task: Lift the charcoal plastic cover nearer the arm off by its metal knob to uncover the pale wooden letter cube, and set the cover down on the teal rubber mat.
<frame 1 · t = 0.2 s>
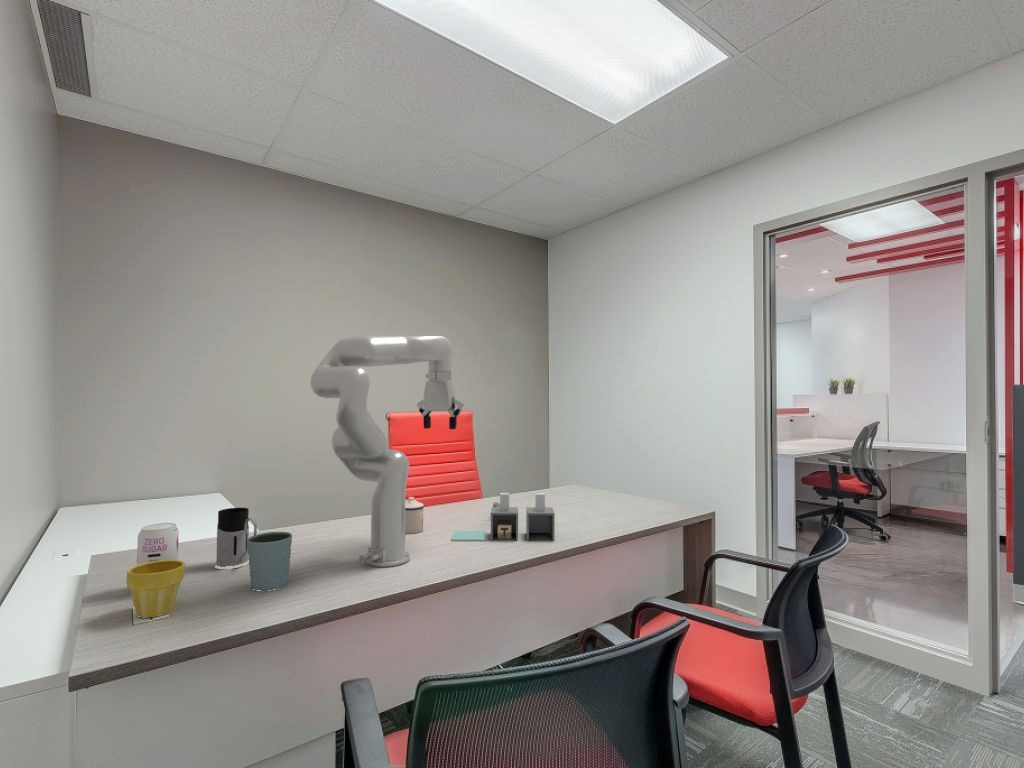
hand: (439, 428, 170), 37 cm above the table, tool pointing down, fingers open, 9 cm apart
plant pot: (155, 612, 112), on the table
mat: (468, 536, 174), on the table
cover b: (539, 536, 174), on the table
teal cup: (268, 586, 128), on the table
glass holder: (238, 566, 142), on the table
teacup with lid: (408, 530, 182), on the table
cover a: (504, 536, 174), on the table
supplement can: (157, 589, 125), on the table
letter cube: (504, 537, 174), on the table
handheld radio: (500, 524, 192), on the table
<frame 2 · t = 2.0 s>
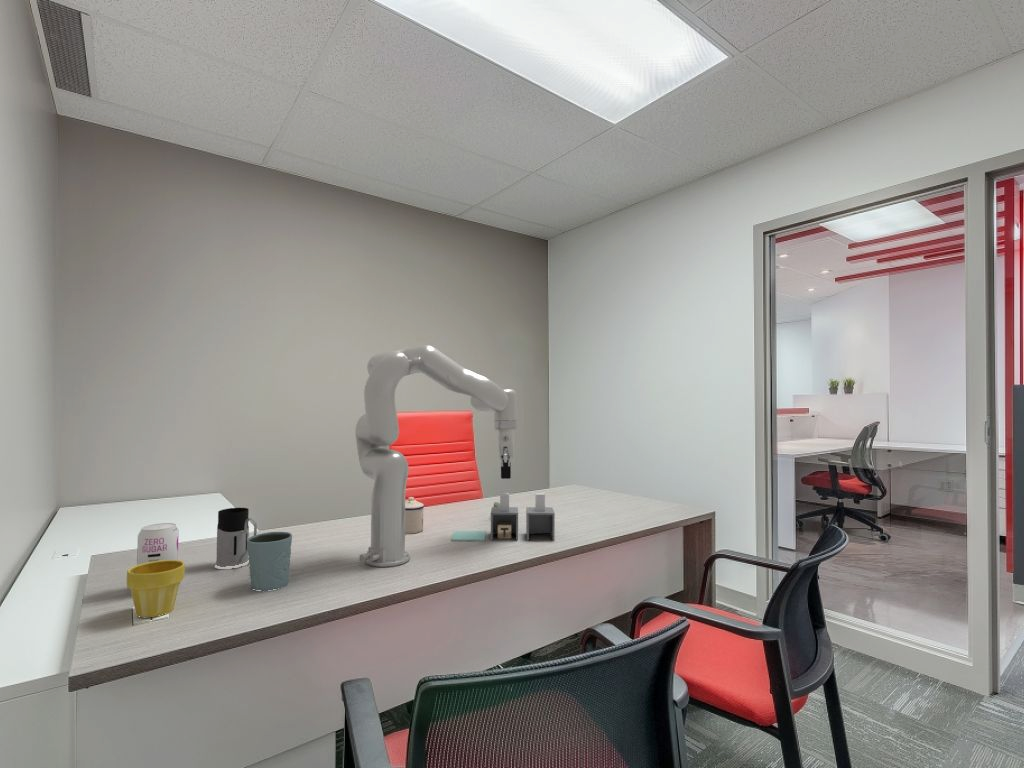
hand: (505, 476, 174), 20 cm above the table, tool pointing down, fingers open, 9 cm apart
nothing on the table moved.
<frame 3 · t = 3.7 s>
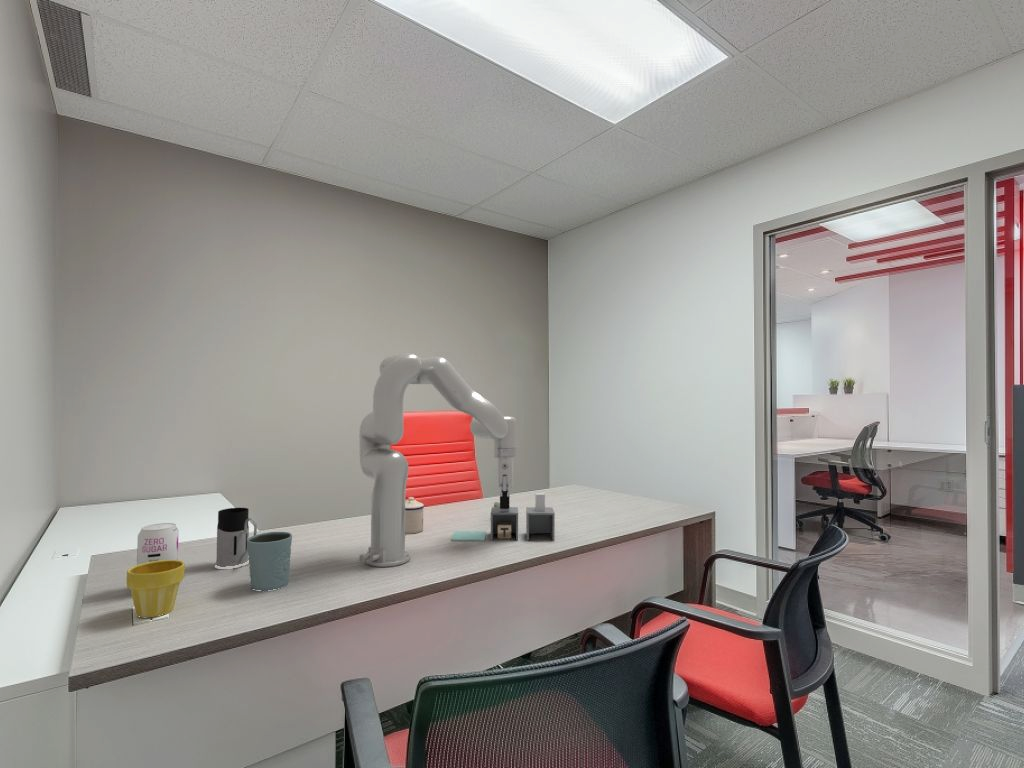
hand: (504, 506, 174), 10 cm above the table, tool pointing down, fingers closed on cover a, 3 cm apart
cover a: (504, 536, 174), on the table, touching gripper
everything else where it was.
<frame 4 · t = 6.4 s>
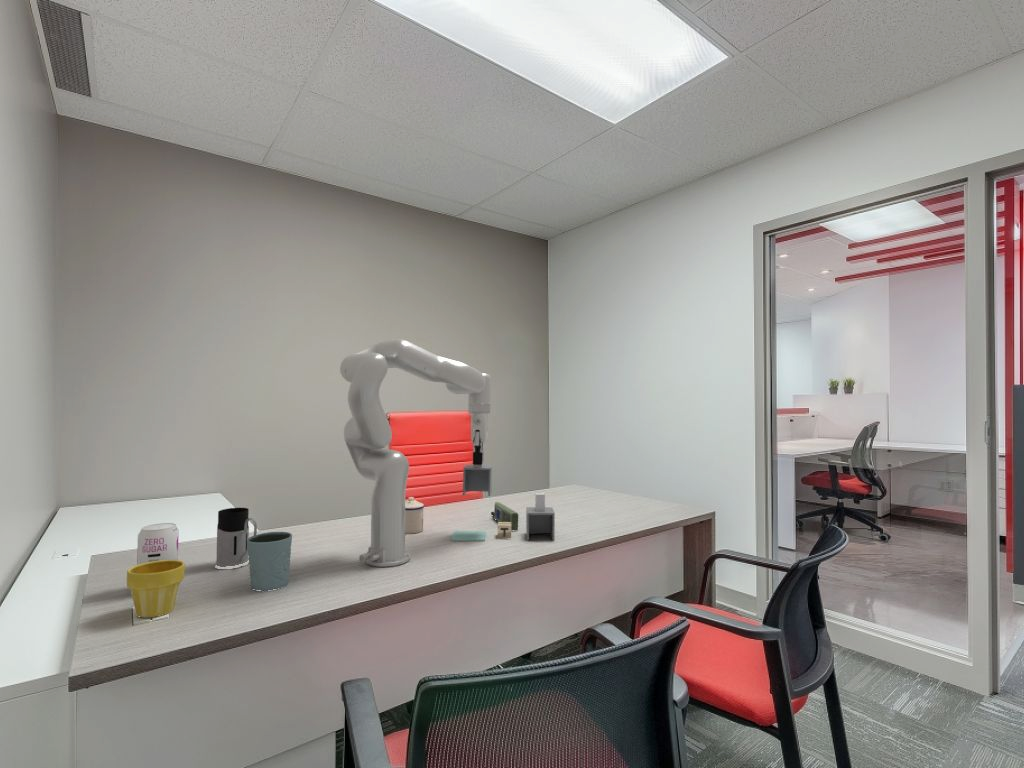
hand: (478, 463, 174), 25 cm above the table, tool pointing down, fingers closed on cover a, 3 cm apart
cover a: (477, 493, 174), point 15 cm above the table, touching gripper
everything else where it was.
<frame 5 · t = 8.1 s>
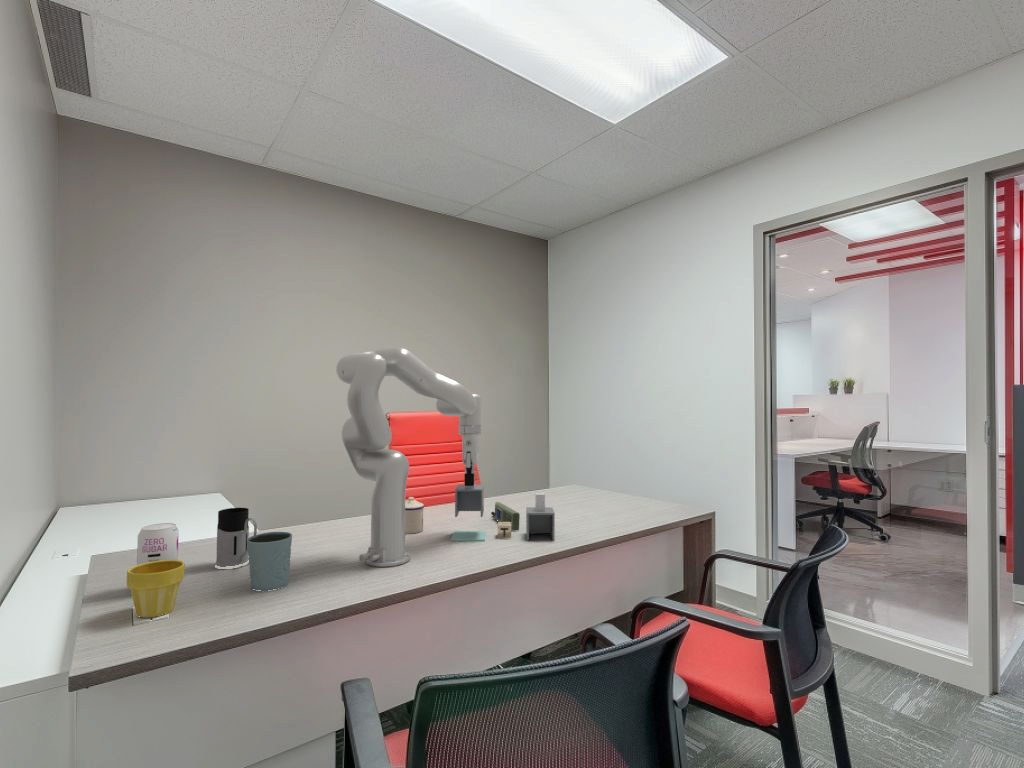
hand: (469, 484, 174), 18 cm above the table, tool pointing down, fingers closed on cover a, 3 cm apart
cover a: (469, 513, 174), point 8 cm above the table, touching gripper
when the fingers open (12 cm above the table, at t = 9.3 s): cover a drops 2 cm, resting on mat.
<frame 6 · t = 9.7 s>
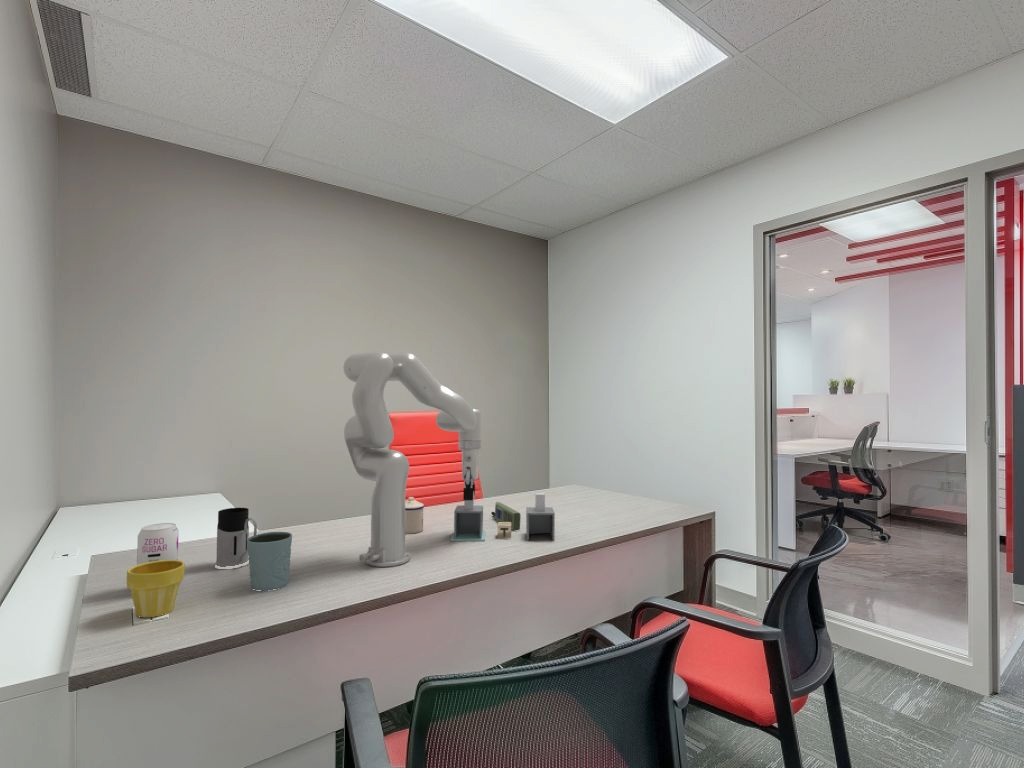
hand: (469, 497, 174), 13 cm above the table, tool pointing down, fingers open, 7 cm apart
cover a: (468, 535, 174), resting on mat
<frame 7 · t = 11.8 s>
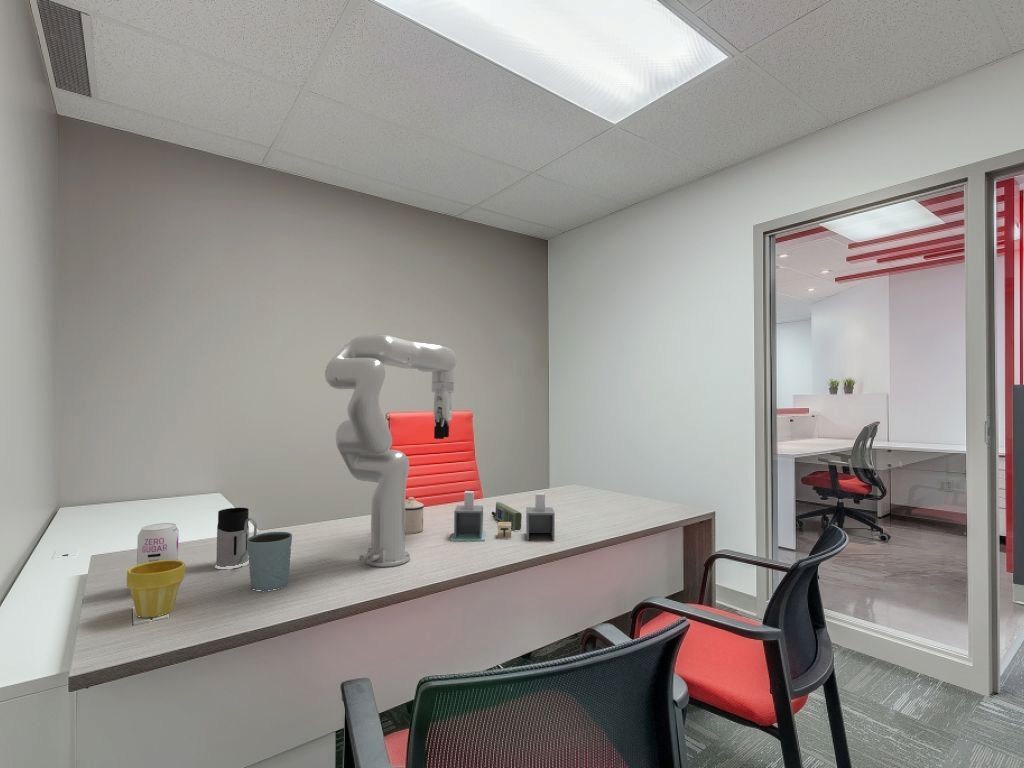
hand: (441, 437, 176), 33 cm above the table, tool pointing down, fingers open, 9 cm apart
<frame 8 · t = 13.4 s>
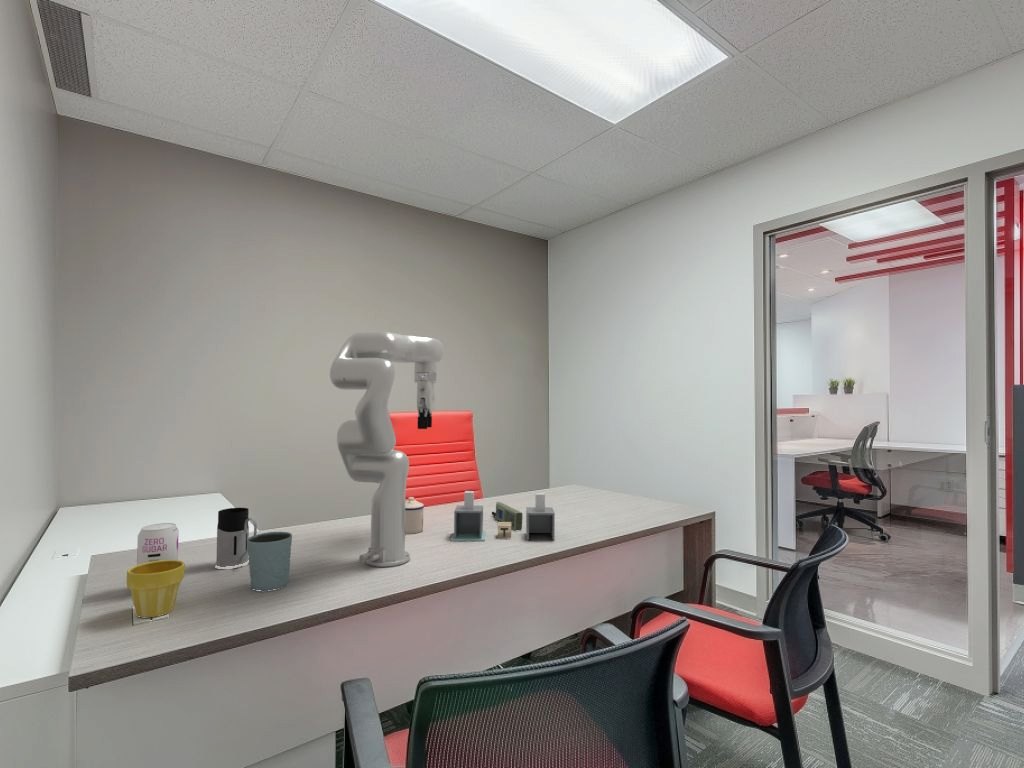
hand: (424, 428, 177), 36 cm above the table, tool pointing down, fingers open, 9 cm apart
at the end: cover a 0.1 cm from the mat (horizontally); cover a tilted 0°; letter cube moved 0.1 cm from its start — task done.
